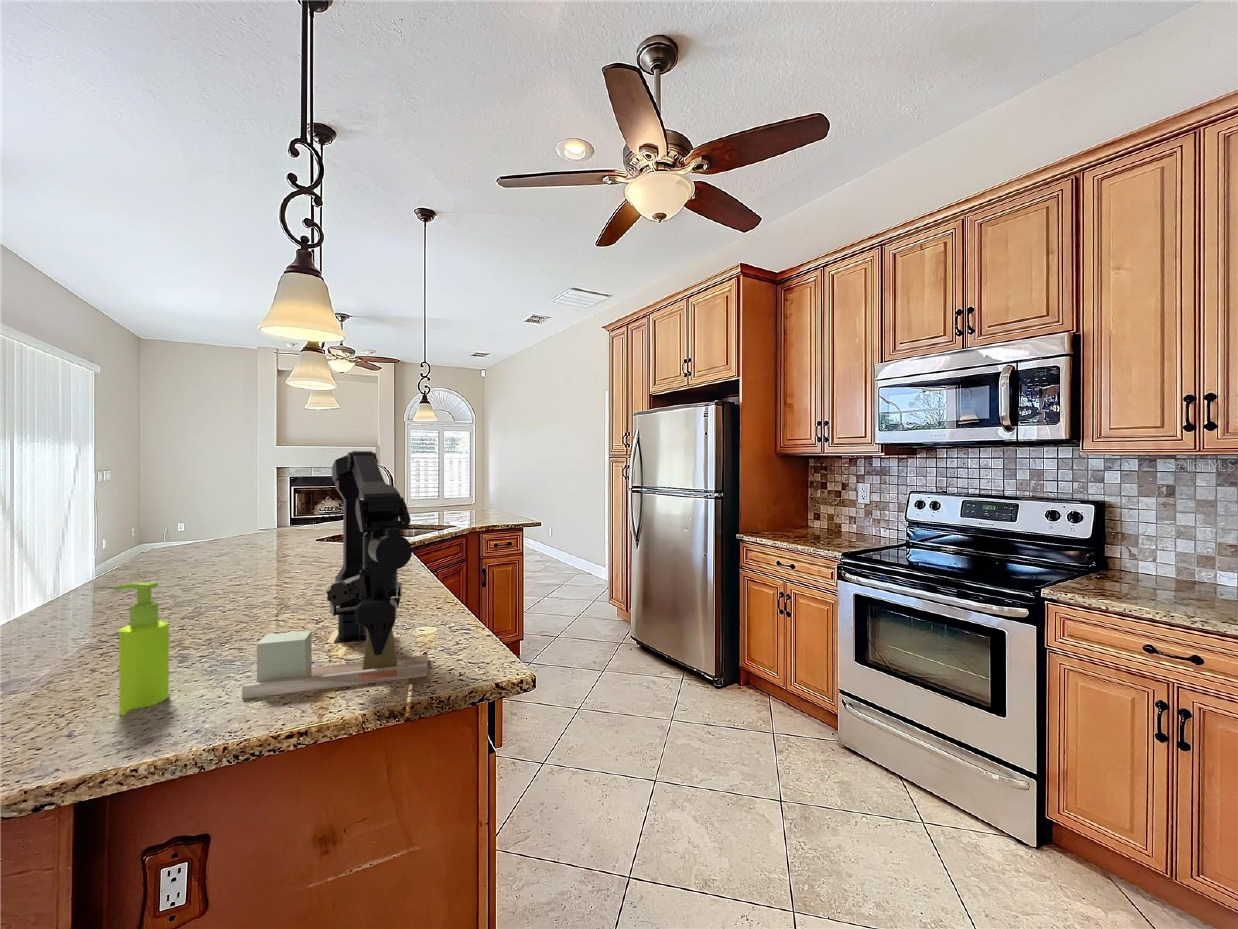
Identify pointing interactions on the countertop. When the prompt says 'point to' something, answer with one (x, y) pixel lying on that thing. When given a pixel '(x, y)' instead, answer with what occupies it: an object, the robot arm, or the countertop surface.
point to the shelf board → (342, 677)
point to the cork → (381, 660)
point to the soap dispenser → (143, 653)
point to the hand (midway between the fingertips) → (380, 647)
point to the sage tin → (284, 656)
